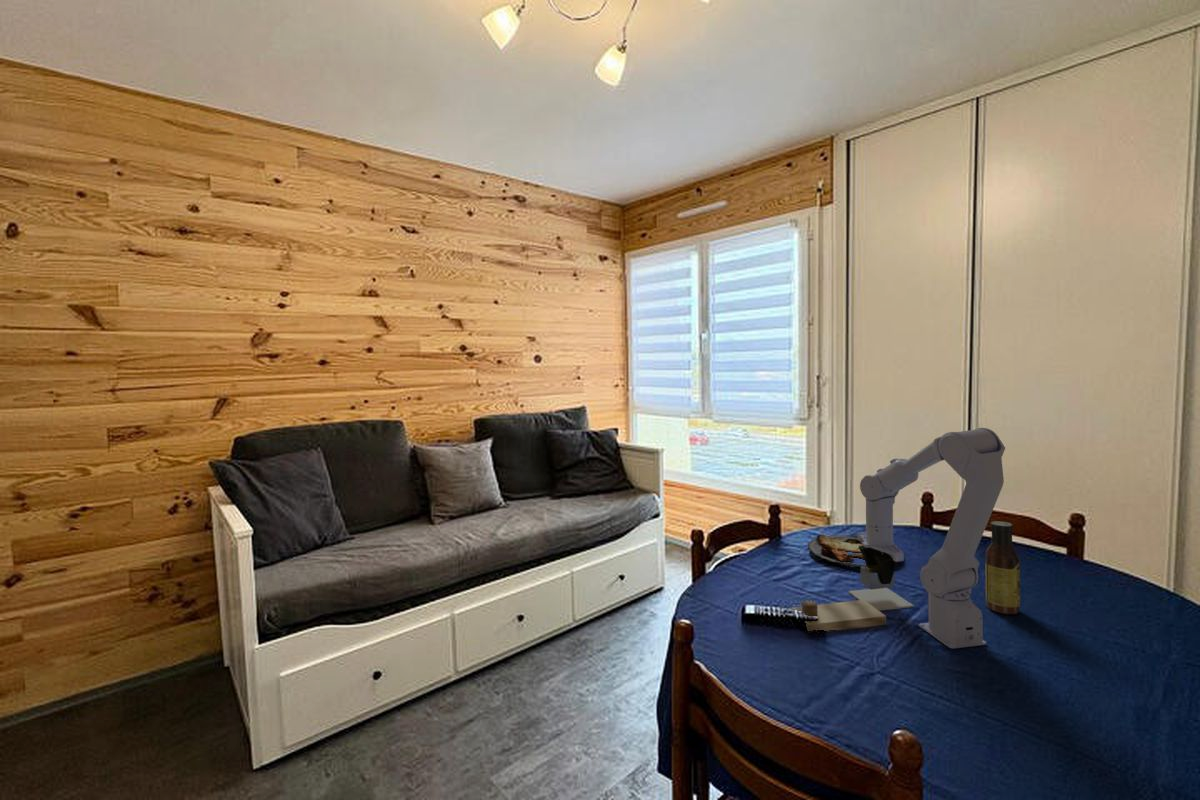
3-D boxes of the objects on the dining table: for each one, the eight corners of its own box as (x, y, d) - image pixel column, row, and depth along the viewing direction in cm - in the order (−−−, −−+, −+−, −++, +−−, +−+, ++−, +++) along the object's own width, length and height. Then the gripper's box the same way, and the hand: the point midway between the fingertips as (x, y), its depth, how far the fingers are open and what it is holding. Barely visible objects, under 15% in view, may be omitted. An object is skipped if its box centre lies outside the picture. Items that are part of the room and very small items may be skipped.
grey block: (883, 579, 131) (883, 561, 131) (894, 586, 127) (894, 568, 127) (860, 582, 131) (860, 564, 130) (870, 589, 127) (870, 570, 126)
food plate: (803, 563, 153) (803, 551, 152) (812, 537, 173) (812, 527, 173) (903, 579, 141) (904, 566, 141) (900, 549, 162) (901, 538, 161)
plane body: (864, 607, 126) (863, 589, 125) (886, 624, 118) (885, 605, 117) (791, 615, 124) (790, 597, 123) (808, 633, 116) (807, 613, 115)
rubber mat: (913, 606, 125) (913, 605, 125) (873, 611, 124) (873, 609, 124) (885, 588, 135) (885, 587, 135) (848, 592, 134) (848, 591, 134)
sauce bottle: (1025, 616, 118) (1027, 528, 116) (994, 615, 119) (995, 528, 118) (1009, 602, 125) (1010, 519, 123) (979, 601, 126) (980, 519, 124)
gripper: (846, 516, 135) (846, 569, 136) (883, 535, 120) (883, 594, 121) (872, 514, 135) (872, 566, 136) (912, 533, 121) (912, 591, 122)
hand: (879, 579), depth 129 cm, fingers closed on grey block, 4 cm apart
